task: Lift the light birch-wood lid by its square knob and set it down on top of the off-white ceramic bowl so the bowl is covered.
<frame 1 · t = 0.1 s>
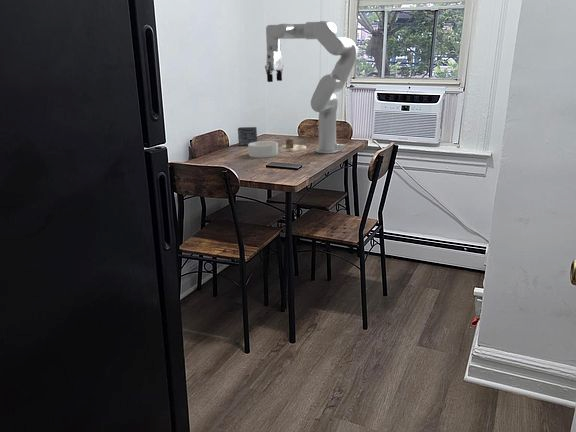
hand: (274, 81, 286), 37 cm above the table, tool pointing down, fingers open, 9 cm apart
lid: (289, 149, 292), on the table
bowl: (263, 154, 277), on the table
small box: (248, 145, 308), on the table
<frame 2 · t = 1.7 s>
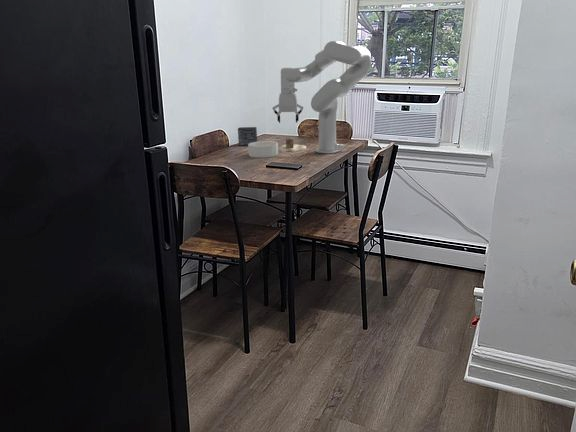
hand: (288, 122, 288), 15 cm above the table, tool pointing down, fingers open, 9 cm apart
nothing on the table moved.
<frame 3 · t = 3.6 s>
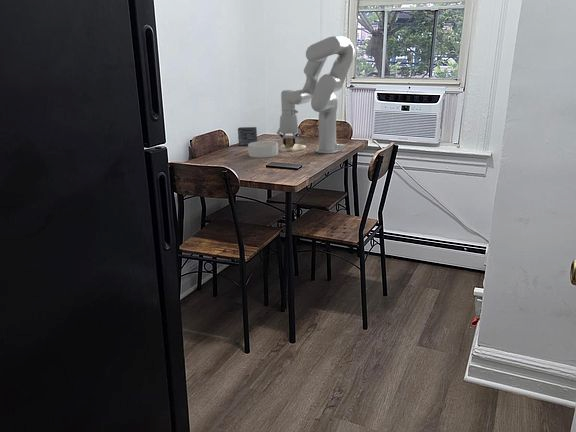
hand: (289, 145, 292), 2 cm above the table, tool pointing down, fingers closed on lid, 4 cm apart
lid: (289, 148, 292), on the table, touching gripper
everything else where it was.
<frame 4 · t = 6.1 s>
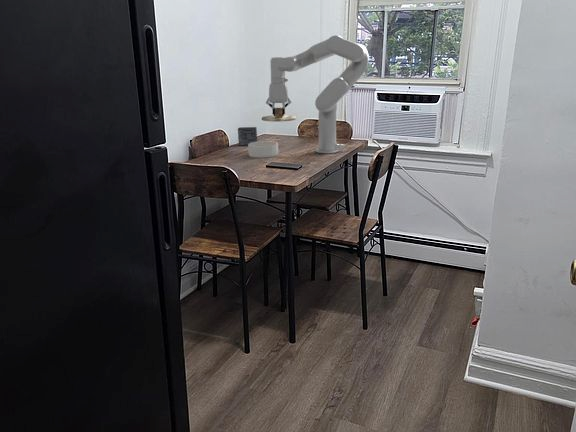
hand: (278, 115, 281), 20 cm above the table, tool pointing down, fingers closed on lid, 4 cm apart
lid: (278, 119, 282), point 17 cm above the table, touching gripper
everything else where it was.
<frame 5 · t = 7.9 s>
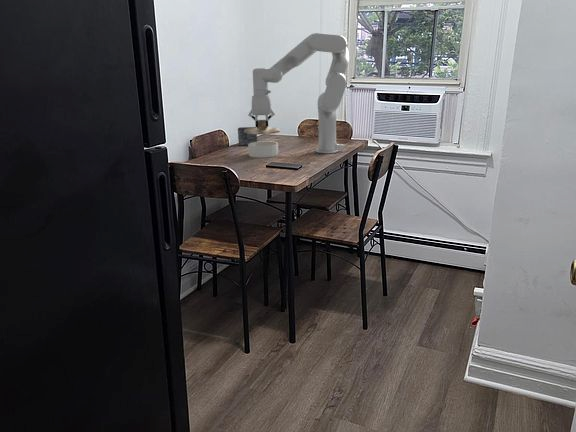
hand: (262, 127, 273), 14 cm above the table, tool pointing down, fingers closed on lid, 4 cm apart
lid: (262, 131, 274), point 12 cm above the table, touching gripper
everything else where it was.
when the fingers open (10 cm above the table, at t = 9.0 s): lid drops 2 cm, resting on bowl.
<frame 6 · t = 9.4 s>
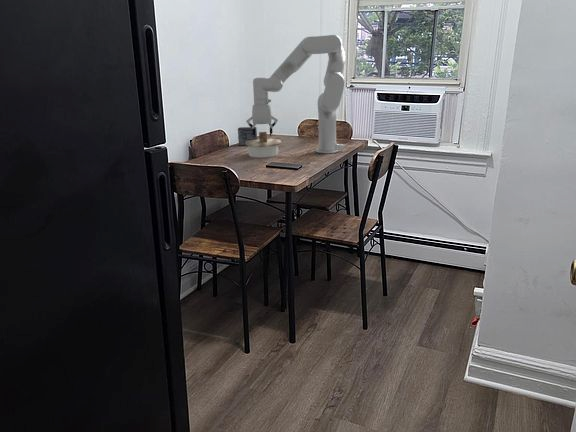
hand: (262, 135, 274), 10 cm above the table, tool pointing down, fingers open, 8 cm apart
lid: (263, 143, 276), point 6 cm above the table, touching bowl
everything else where it was.
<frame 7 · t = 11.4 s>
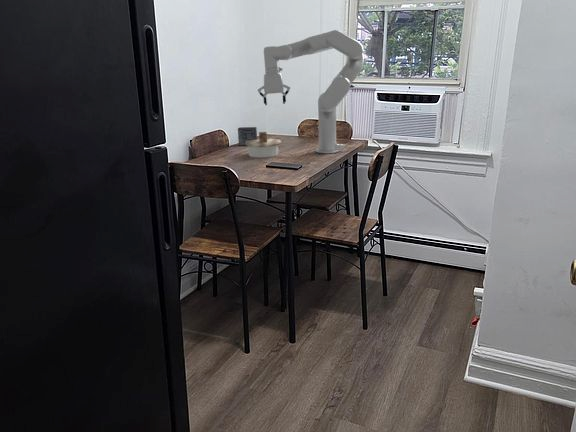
hand: (275, 104, 274), 26 cm above the table, tool pointing down, fingers open, 9 cm apart
nothing on the table moved.
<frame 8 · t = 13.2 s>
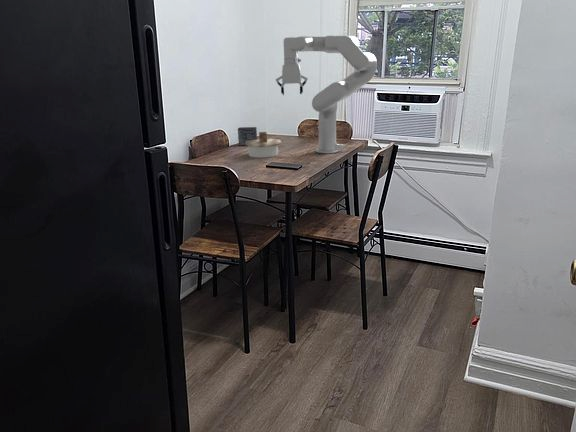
hand: (292, 94, 280), 30 cm above the table, tool pointing down, fingers open, 9 cm apart
nothing on the table moved.
at the end: lid 0.1 cm off-centre on the bowl, point 6.0 cm above the bowl's base; lid tilted 0°; the gripper is holding nothing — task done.
